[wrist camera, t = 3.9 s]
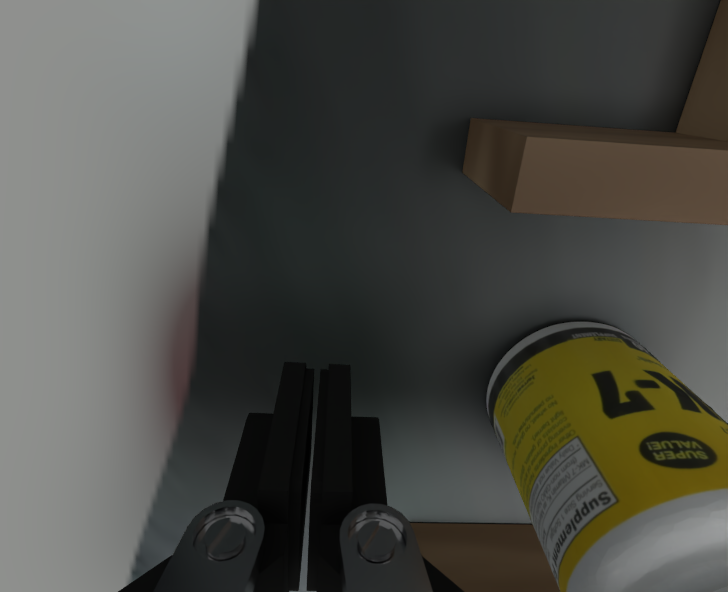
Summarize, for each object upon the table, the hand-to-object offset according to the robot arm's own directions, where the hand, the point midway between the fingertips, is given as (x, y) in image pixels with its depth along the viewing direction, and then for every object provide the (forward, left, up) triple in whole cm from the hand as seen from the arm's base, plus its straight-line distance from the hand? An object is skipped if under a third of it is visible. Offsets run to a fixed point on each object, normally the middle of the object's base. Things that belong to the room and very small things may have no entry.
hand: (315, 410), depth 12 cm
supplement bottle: (0, +7, -2) cm, 7 cm away
